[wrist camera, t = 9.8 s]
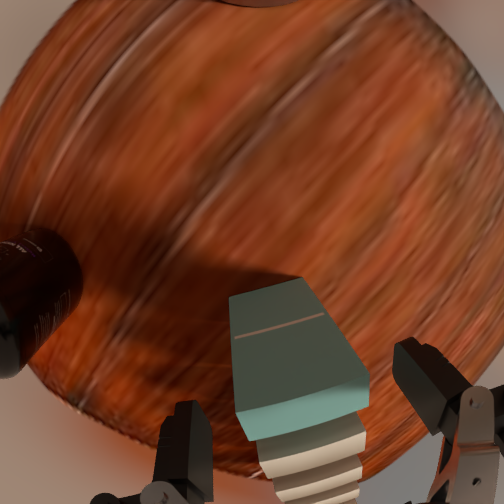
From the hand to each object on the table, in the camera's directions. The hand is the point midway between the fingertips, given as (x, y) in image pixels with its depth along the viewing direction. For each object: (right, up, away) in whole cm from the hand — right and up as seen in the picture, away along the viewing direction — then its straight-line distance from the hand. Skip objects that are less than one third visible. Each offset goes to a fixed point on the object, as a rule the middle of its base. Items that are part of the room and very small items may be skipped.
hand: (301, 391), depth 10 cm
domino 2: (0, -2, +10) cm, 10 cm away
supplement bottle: (-17, +4, +7) cm, 19 cm away
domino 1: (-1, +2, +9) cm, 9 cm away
